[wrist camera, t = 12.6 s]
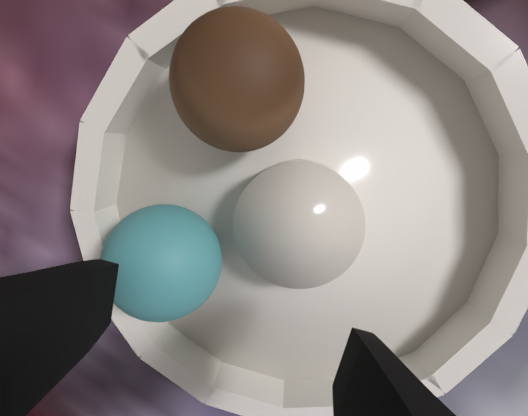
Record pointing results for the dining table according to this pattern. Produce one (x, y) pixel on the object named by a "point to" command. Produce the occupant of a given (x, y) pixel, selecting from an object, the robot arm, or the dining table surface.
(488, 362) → the dining table surface
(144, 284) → the teal bead
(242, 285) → the tray
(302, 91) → the walnut bead
